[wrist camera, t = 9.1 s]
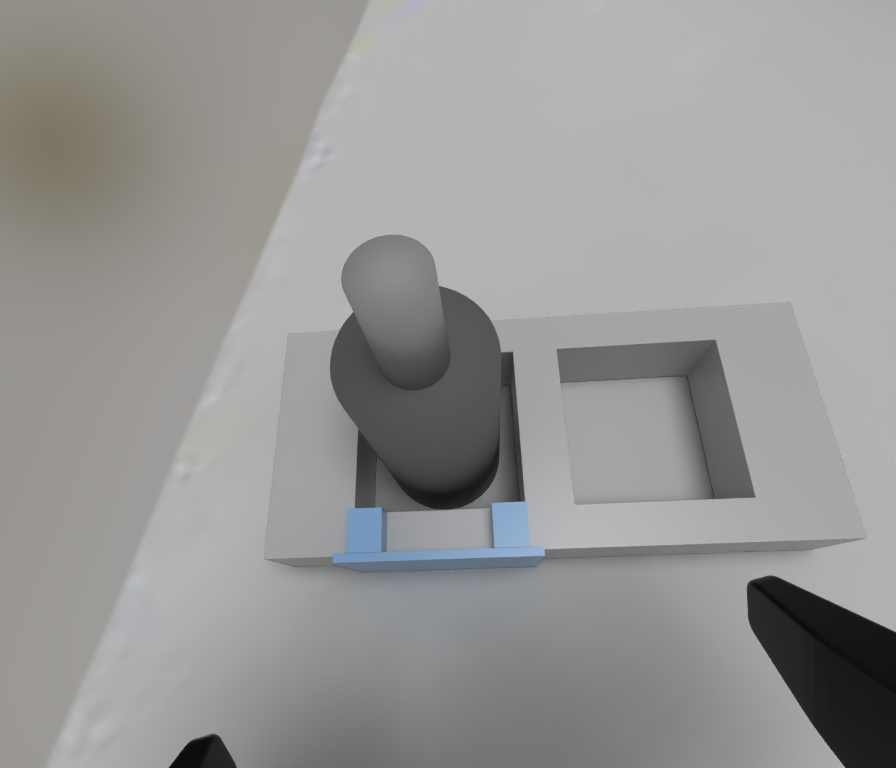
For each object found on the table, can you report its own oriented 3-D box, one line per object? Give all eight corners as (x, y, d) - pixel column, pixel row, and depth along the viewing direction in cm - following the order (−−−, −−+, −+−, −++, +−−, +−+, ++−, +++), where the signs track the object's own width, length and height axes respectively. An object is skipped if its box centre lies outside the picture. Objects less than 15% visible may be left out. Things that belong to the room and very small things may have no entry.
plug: (444, 533, 23) (378, 426, 10) (371, 456, 24) (232, 279, 12) (521, 454, 24) (551, 266, 11) (446, 385, 25) (396, 152, 13)
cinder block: (813, 557, 21) (890, 543, 17) (295, 574, 23) (251, 565, 18) (752, 342, 25) (803, 288, 21) (313, 367, 26) (279, 322, 22)
